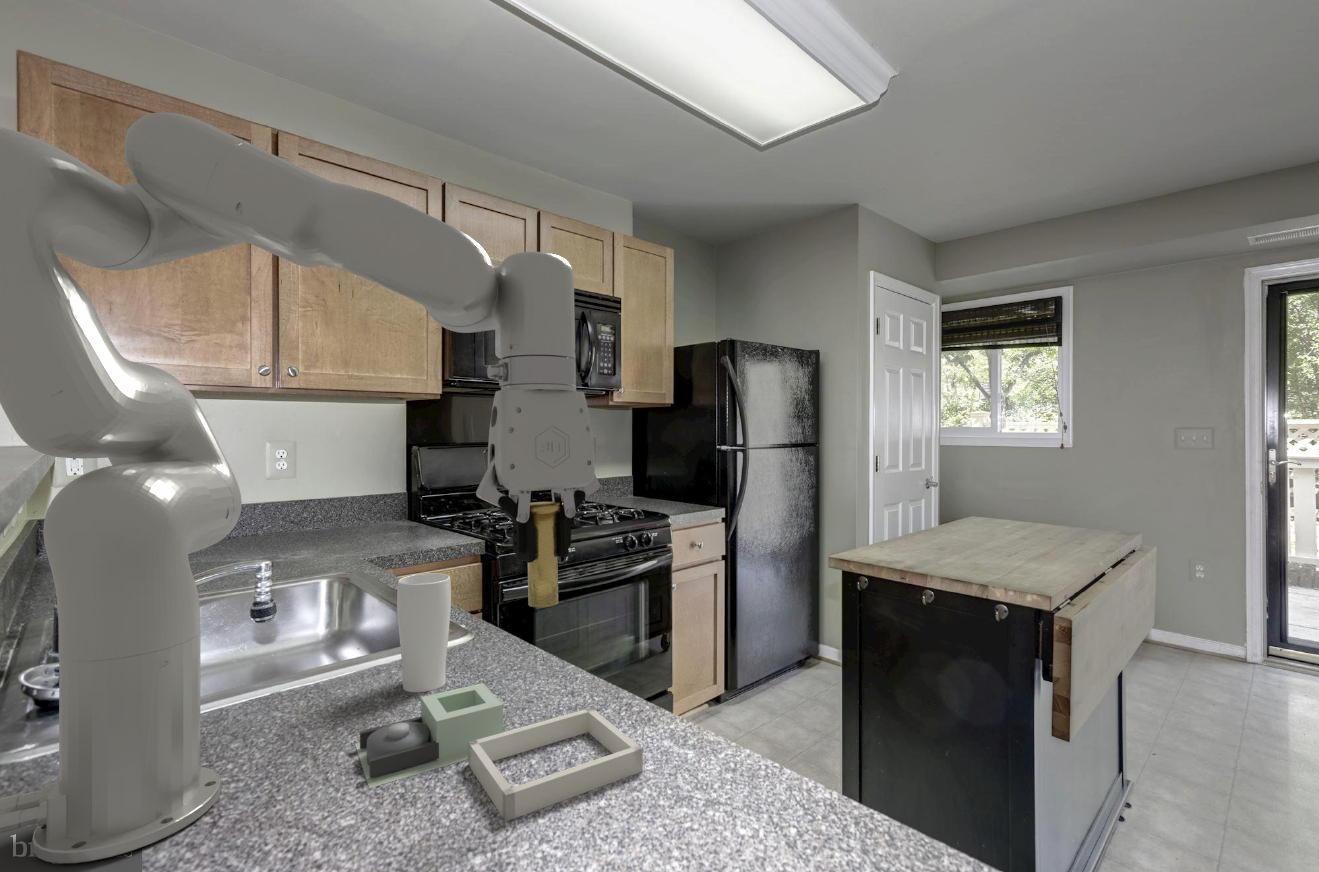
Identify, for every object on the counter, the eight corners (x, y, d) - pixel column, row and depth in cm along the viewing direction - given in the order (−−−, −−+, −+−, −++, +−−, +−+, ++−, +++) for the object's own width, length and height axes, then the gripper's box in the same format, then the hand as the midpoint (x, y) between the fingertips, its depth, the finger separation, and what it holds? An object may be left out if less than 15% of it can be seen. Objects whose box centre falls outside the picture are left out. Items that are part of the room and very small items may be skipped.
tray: (505, 830, 52) (505, 795, 52) (468, 771, 61) (468, 742, 61) (642, 778, 60) (642, 748, 60) (591, 733, 69) (591, 707, 69)
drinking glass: (432, 702, 77) (432, 585, 77) (386, 698, 79) (385, 583, 79) (460, 681, 84) (460, 573, 84) (416, 677, 85) (416, 571, 85)
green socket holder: (369, 796, 57) (369, 745, 57) (354, 751, 65) (354, 706, 65) (512, 753, 65) (512, 708, 65) (483, 717, 73) (483, 677, 73)
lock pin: (533, 611, 59) (531, 507, 59) (518, 602, 62) (516, 503, 62) (568, 604, 61) (566, 503, 61) (552, 596, 64) (550, 501, 64)
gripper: (471, 371, 54) (475, 576, 54) (626, 378, 63) (629, 553, 63) (446, 378, 60) (450, 563, 60) (591, 384, 69) (595, 543, 69)
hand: (542, 556), depth 62 cm, fingers closed on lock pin, 3 cm apart
